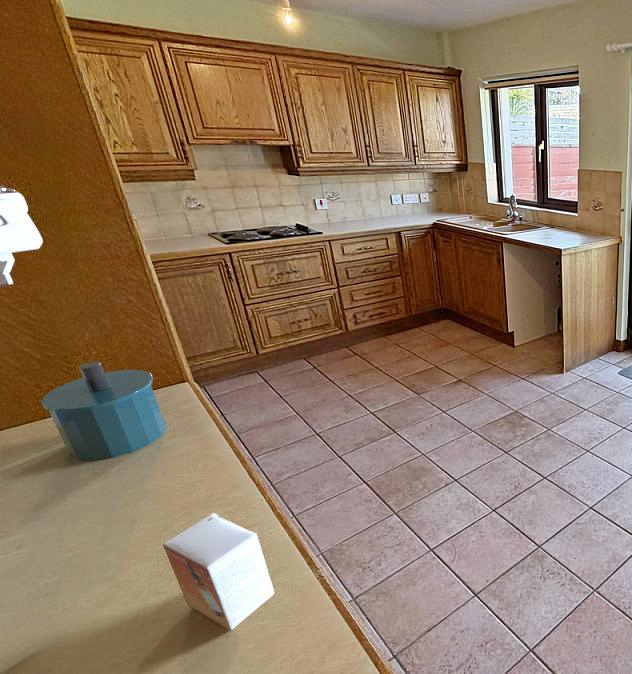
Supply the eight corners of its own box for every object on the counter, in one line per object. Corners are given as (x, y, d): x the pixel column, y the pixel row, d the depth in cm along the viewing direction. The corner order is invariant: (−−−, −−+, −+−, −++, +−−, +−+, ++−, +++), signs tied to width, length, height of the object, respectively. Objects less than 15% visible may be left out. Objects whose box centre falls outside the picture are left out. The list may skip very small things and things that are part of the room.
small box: (187, 606, 58) (159, 543, 54) (234, 571, 63) (212, 511, 59) (230, 632, 55) (205, 568, 51) (276, 593, 60) (256, 532, 56)
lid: (27, 402, 79) (11, 372, 76) (128, 369, 90) (117, 342, 88) (71, 423, 74) (56, 392, 72) (171, 386, 86) (161, 357, 83)
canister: (56, 450, 83) (30, 398, 79) (143, 415, 94) (124, 368, 89) (96, 471, 79) (71, 418, 74) (182, 432, 89) (165, 383, 85)
